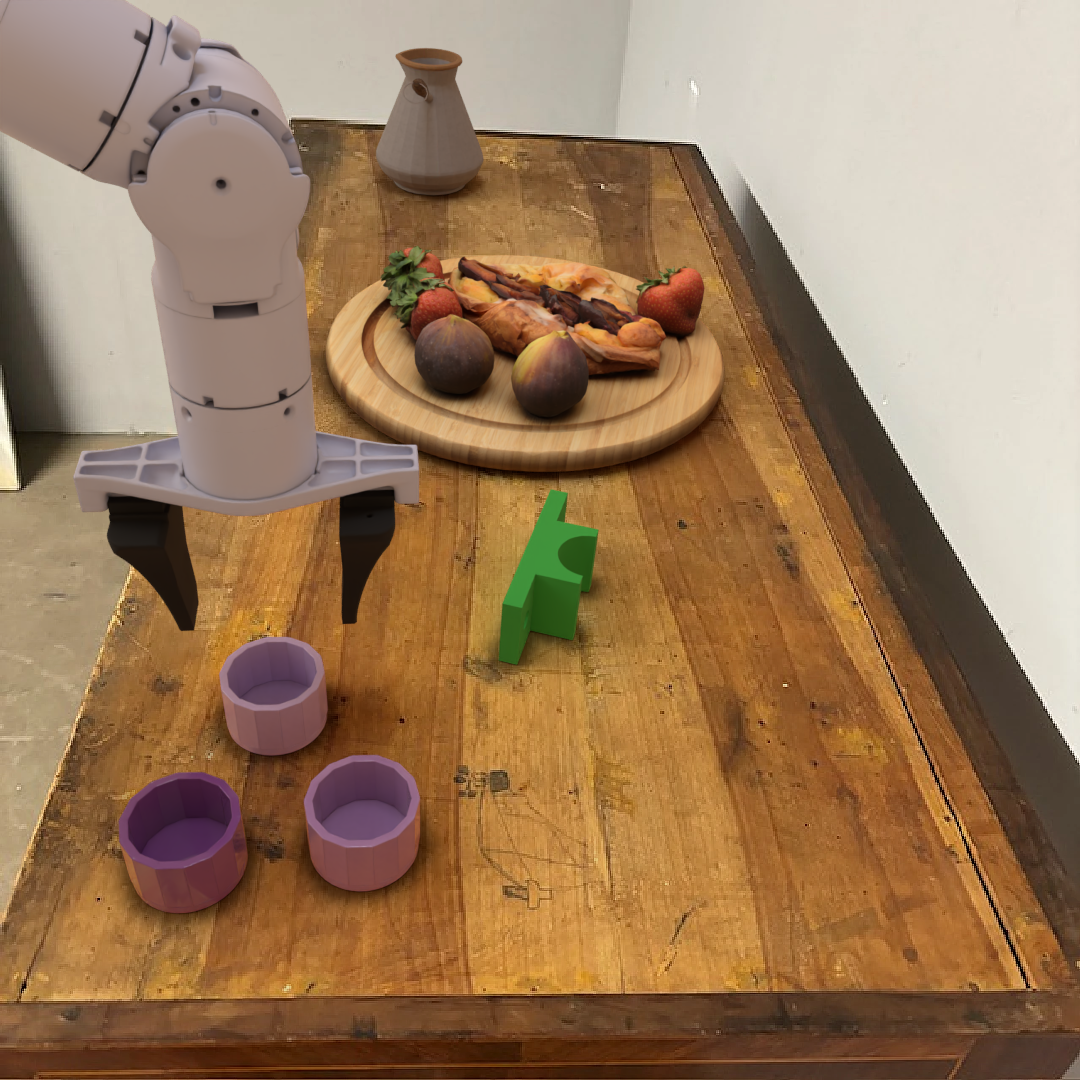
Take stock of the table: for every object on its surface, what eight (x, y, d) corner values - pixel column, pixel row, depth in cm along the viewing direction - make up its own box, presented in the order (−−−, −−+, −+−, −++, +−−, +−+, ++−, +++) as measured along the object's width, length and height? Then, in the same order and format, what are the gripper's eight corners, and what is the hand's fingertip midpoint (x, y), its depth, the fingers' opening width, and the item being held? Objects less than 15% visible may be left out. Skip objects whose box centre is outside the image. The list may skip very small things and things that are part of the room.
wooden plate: (683, 282, 102) (698, 197, 97) (761, 483, 78) (785, 384, 72) (341, 271, 99) (336, 183, 94) (309, 477, 74) (300, 373, 69)
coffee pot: (383, 158, 121) (380, 14, 112) (485, 166, 122) (491, 23, 112) (355, 237, 105) (349, 76, 95) (474, 246, 105) (479, 86, 96)
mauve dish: (318, 904, 49) (314, 859, 47) (302, 811, 53) (297, 765, 51) (430, 878, 51) (430, 834, 49) (406, 789, 55) (405, 744, 52)
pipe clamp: (561, 676, 62) (567, 619, 59) (498, 662, 62) (501, 604, 59) (601, 555, 70) (608, 499, 67) (545, 543, 71) (550, 487, 68)
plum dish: (133, 926, 48) (119, 881, 46) (130, 829, 52) (117, 783, 50) (253, 899, 49) (245, 854, 47) (241, 806, 53) (234, 761, 51)
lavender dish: (232, 765, 55) (224, 719, 53) (223, 690, 59) (215, 645, 57) (334, 745, 56) (331, 700, 54) (319, 673, 60) (315, 628, 58)
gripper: (413, 325, 48) (415, 555, 57) (74, 325, 46) (128, 565, 55) (421, 410, 43) (421, 650, 52) (37, 415, 41) (104, 665, 50)
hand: (270, 613), depth 53 cm, fingers open, 7 cm apart
